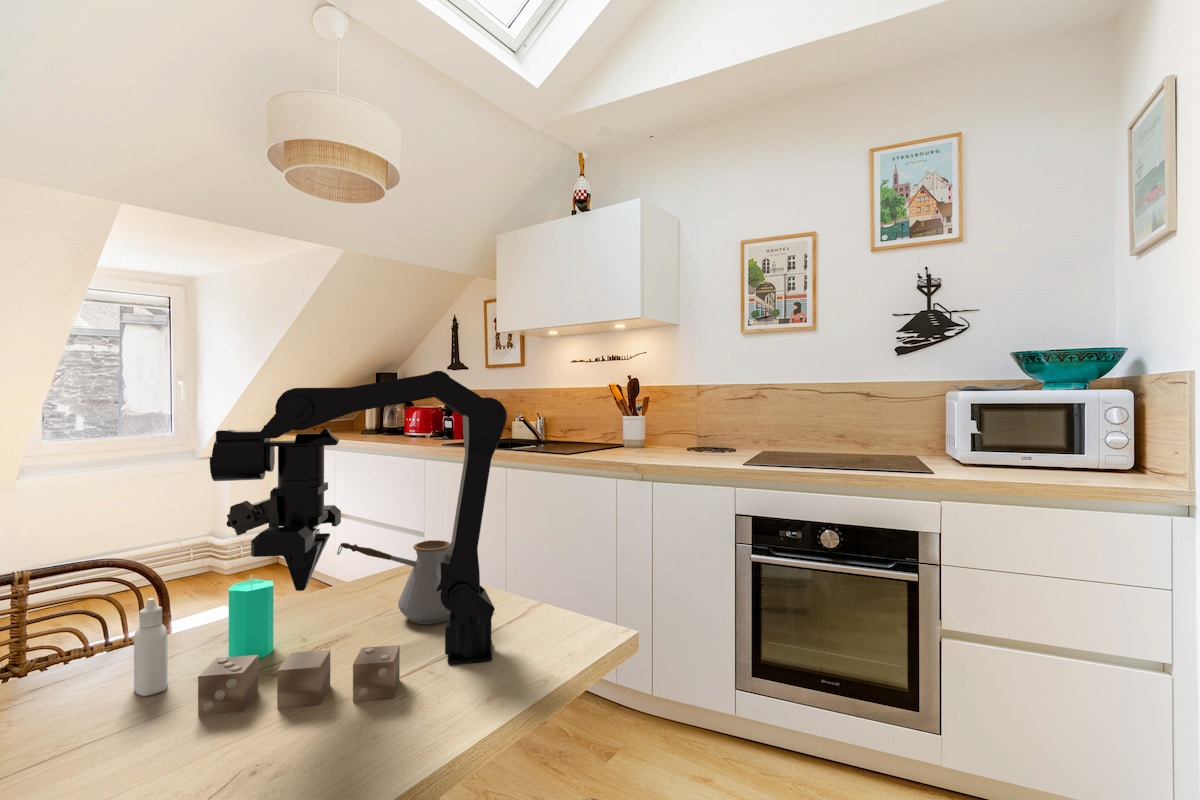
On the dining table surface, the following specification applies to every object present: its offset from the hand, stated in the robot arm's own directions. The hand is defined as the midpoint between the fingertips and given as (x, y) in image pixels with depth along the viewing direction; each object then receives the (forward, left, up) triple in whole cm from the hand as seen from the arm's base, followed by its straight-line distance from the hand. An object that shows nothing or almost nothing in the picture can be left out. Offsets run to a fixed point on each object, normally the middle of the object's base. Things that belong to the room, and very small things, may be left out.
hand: (300, 590), depth 80 cm
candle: (+10, -10, -13) cm, 19 cm away
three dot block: (+7, +5, -13) cm, 15 cm away
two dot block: (-11, +5, -13) cm, 17 cm away
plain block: (-2, +5, -13) cm, 14 cm away
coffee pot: (-11, -19, -13) cm, 25 cm away
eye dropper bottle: (+19, -1, -13) cm, 23 cm away
